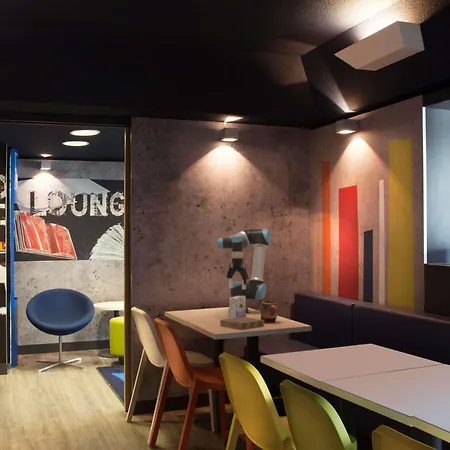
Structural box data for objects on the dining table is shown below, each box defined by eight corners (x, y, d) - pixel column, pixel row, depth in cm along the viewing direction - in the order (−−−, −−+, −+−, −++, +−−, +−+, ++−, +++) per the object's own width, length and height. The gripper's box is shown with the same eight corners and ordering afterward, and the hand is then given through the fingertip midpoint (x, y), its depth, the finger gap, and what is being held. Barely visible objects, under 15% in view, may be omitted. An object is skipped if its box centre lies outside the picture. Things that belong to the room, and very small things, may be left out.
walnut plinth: (243, 322, 405) (243, 316, 405) (264, 326, 390) (263, 320, 390) (220, 326, 392) (220, 319, 392) (241, 329, 377) (241, 323, 377)
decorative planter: (285, 323, 399) (285, 302, 399) (269, 325, 394) (269, 304, 394) (269, 319, 417) (269, 299, 417) (254, 321, 412) (254, 300, 412)
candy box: (238, 318, 422) (238, 295, 422) (246, 319, 419) (246, 295, 419) (228, 321, 411) (228, 297, 411) (236, 322, 408) (236, 297, 408)
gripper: (221, 257, 422) (221, 287, 422) (245, 258, 403) (245, 290, 403) (229, 257, 427) (229, 287, 427) (253, 258, 408) (253, 289, 408)
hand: (237, 288), depth 415 cm, fingers open, 13 cm apart
